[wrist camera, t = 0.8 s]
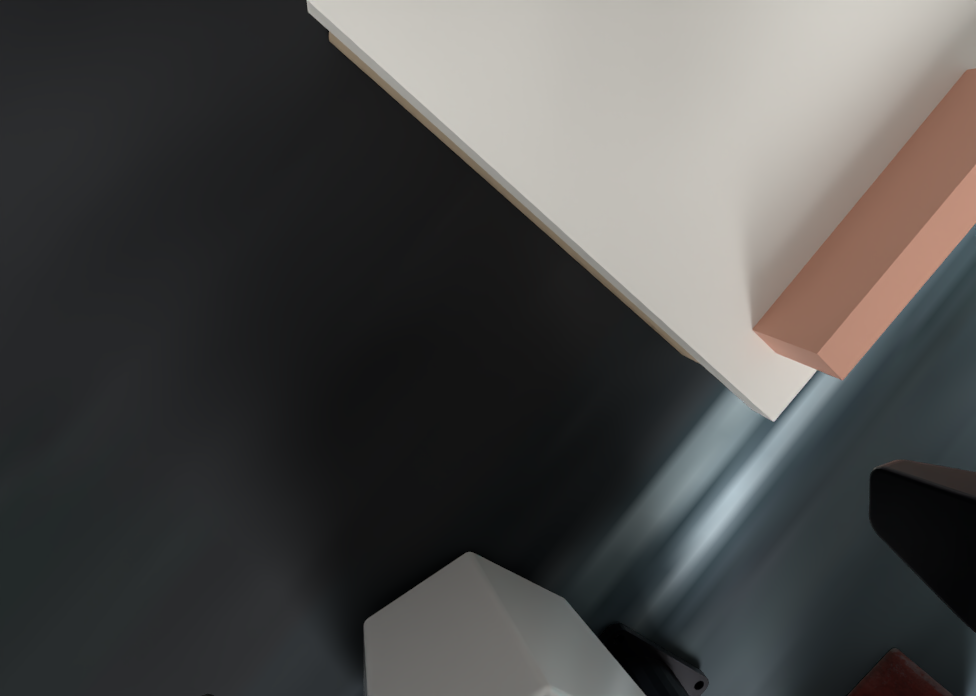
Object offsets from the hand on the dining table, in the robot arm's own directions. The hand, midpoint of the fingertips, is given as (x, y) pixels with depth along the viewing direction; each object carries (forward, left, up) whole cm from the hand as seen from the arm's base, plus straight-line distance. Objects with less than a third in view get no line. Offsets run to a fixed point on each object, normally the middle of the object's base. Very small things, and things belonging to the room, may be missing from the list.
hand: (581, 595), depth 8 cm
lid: (0, -11, -9) cm, 14 cm away
